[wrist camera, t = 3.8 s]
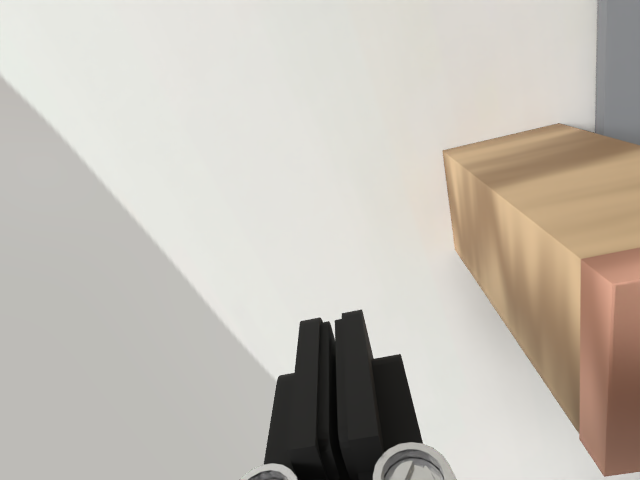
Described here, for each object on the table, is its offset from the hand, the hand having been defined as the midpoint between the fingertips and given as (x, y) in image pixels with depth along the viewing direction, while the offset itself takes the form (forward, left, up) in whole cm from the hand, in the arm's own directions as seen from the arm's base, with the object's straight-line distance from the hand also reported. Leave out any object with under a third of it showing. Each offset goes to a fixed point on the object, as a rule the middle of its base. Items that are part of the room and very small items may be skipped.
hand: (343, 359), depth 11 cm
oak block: (0, +8, -10) cm, 12 cm away
